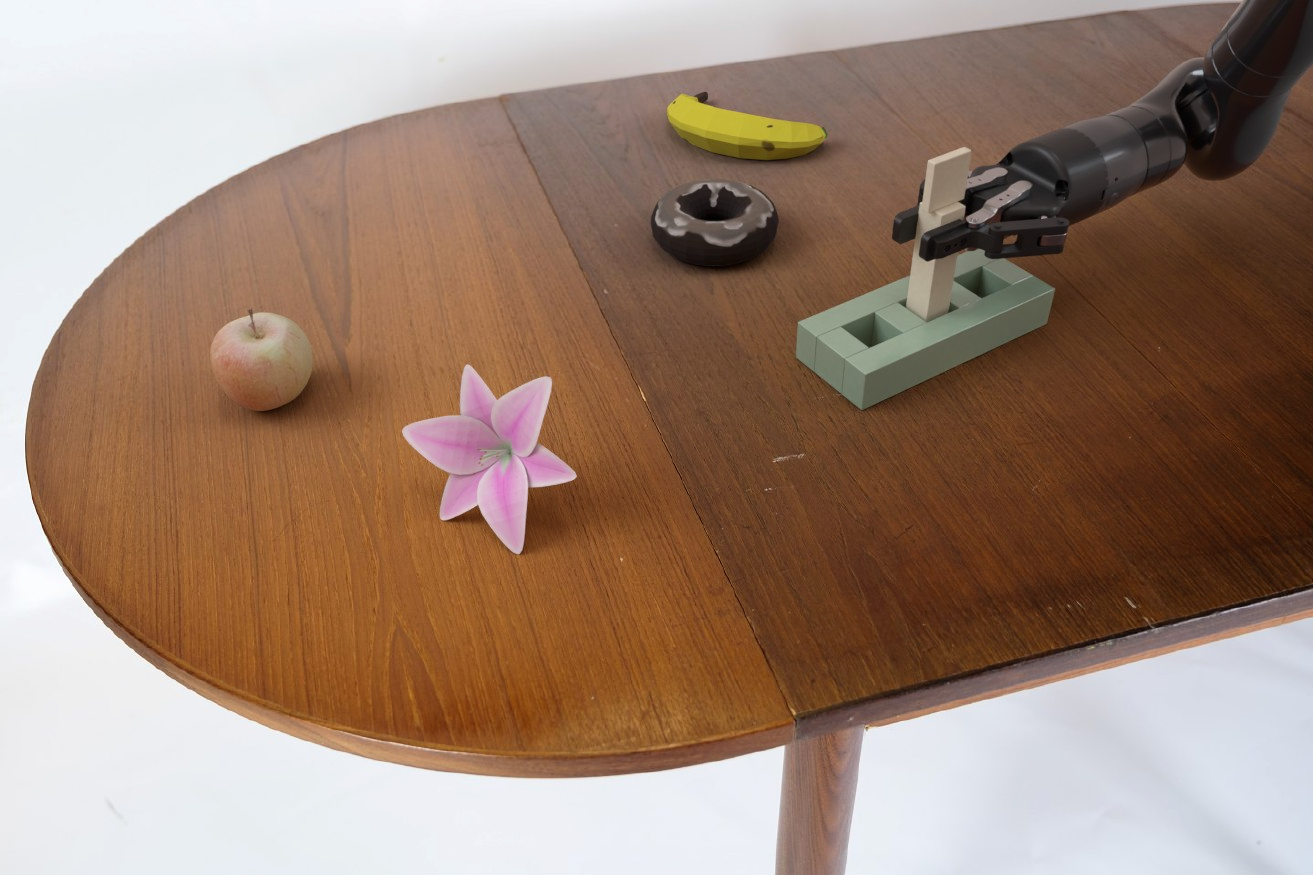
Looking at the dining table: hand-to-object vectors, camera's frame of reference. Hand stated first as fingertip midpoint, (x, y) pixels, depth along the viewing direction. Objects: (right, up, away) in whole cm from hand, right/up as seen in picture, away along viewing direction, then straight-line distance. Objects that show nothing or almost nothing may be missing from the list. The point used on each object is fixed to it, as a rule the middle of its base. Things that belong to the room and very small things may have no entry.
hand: (910, 239), depth 84 cm
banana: (-9, +18, +37) cm, 42 cm away
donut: (-14, +3, +21) cm, 25 cm away
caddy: (+3, -7, +8) cm, 11 cm away
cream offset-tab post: (+3, -5, +6) cm, 9 cm away
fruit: (-49, -12, +5) cm, 51 cm away
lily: (-30, -19, -5) cm, 36 cm away
